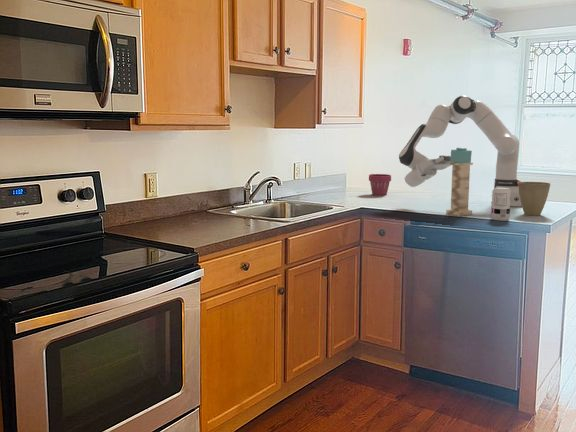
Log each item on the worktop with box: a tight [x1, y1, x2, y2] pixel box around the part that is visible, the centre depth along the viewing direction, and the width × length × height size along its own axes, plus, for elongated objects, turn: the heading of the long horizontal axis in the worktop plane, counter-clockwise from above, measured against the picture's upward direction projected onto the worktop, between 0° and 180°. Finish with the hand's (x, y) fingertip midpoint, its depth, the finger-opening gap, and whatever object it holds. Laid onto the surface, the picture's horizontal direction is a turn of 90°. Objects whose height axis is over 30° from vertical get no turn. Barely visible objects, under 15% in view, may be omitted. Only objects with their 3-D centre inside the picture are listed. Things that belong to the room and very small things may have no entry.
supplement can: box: [490, 187, 511, 221], centre depth 278 cm, size 8×8×15 cm
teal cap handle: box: [438, 147, 473, 163], centre depth 294 cm, size 16×7×7 cm, turn 35°
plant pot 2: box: [518, 181, 551, 216], centre depth 292 cm, size 15×15×16 cm
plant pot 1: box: [368, 173, 392, 197], centre depth 372 cm, size 14×14×13 cm
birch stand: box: [445, 162, 474, 217], centre depth 293 cm, size 9×9×26 cm
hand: (446, 157), depth 298 cm, fingers closed on teal cap handle, 3 cm apart
